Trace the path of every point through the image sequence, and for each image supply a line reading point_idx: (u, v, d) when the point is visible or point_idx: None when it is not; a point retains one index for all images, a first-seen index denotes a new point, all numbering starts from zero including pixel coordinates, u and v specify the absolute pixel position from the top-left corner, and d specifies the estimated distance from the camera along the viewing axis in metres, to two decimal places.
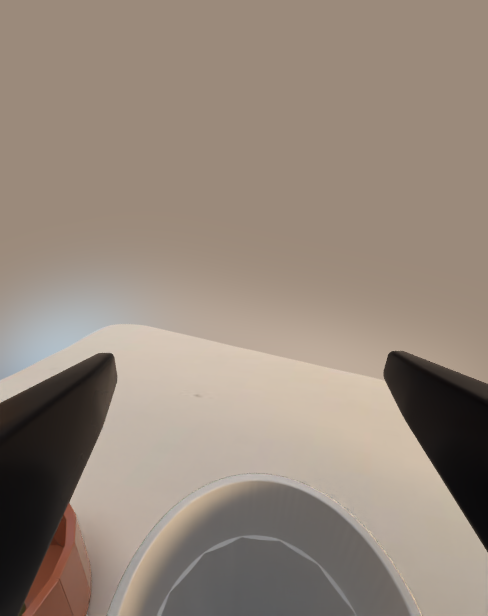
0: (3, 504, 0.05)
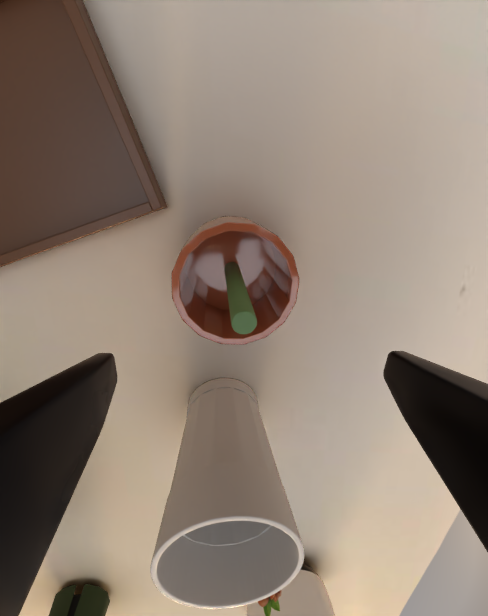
0: (3, 504, 0.05)
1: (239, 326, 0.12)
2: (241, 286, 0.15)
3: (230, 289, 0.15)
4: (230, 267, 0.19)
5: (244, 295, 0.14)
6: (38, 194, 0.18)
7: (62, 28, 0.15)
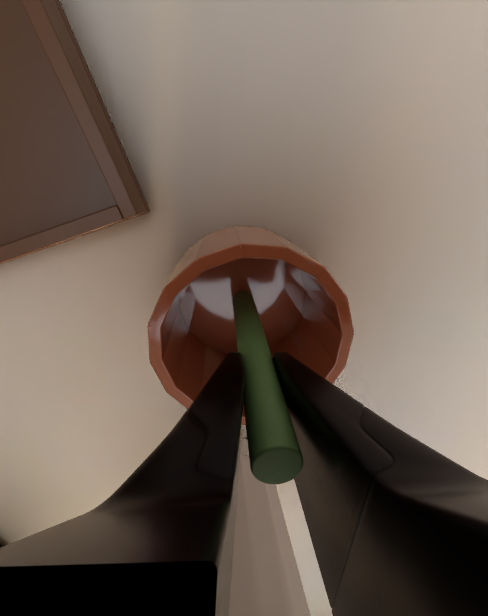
0: (235, 492, 0.05)
1: (267, 472, 0.06)
2: (263, 353, 0.09)
3: (244, 358, 0.09)
4: (241, 302, 0.13)
5: (271, 382, 0.07)
6: None
7: None
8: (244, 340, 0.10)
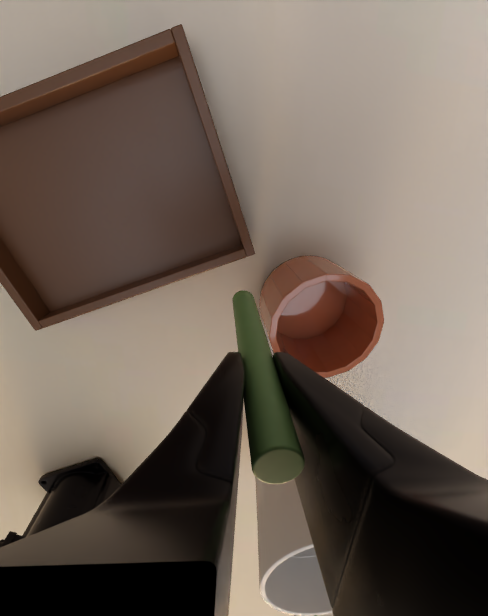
0: (234, 492, 0.05)
1: (268, 472, 0.06)
2: (264, 353, 0.09)
3: (245, 358, 0.09)
4: (242, 302, 0.13)
5: (272, 382, 0.07)
6: (140, 240, 0.19)
7: (176, 97, 0.16)
8: (245, 340, 0.10)
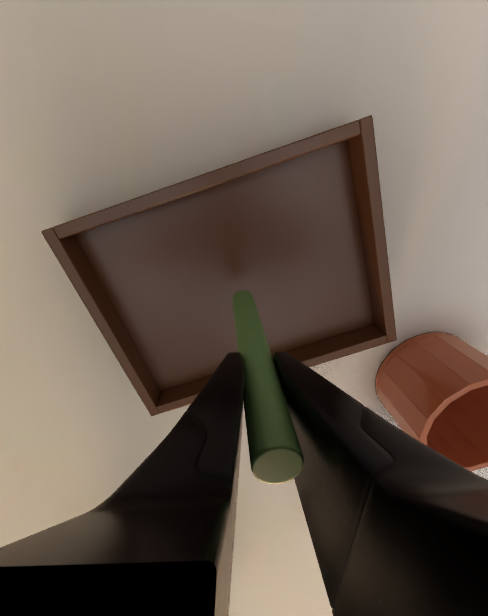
0: (234, 492, 0.05)
1: (267, 472, 0.06)
2: (263, 352, 0.09)
3: (244, 357, 0.09)
4: (241, 302, 0.13)
5: (272, 381, 0.07)
6: (268, 321, 0.18)
7: (335, 180, 0.15)
8: (244, 339, 0.10)
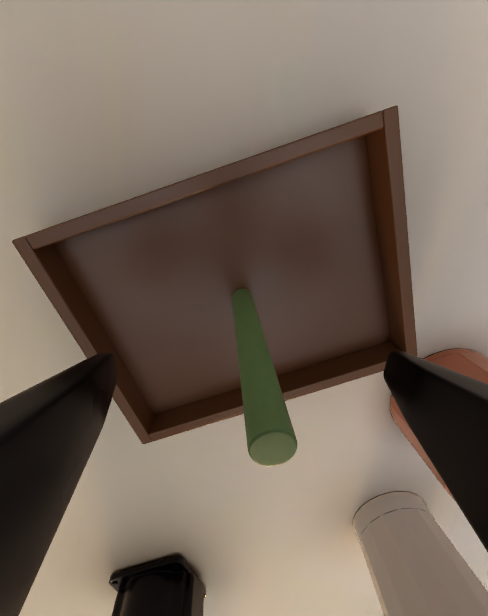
0: (3, 504, 0.05)
1: (263, 454, 0.06)
2: (260, 346, 0.09)
3: (243, 351, 0.09)
4: (240, 300, 0.13)
5: (268, 373, 0.08)
6: (273, 338, 0.16)
7: (351, 182, 0.13)
8: (243, 335, 0.10)
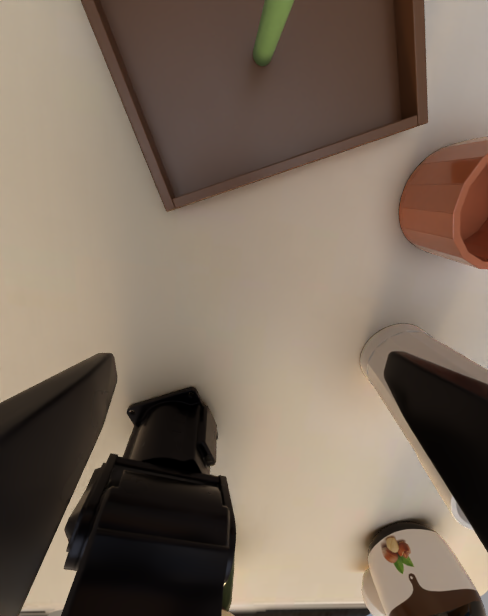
0: (3, 503, 0.05)
1: None
2: None
3: None
4: None
5: None
6: (291, 108, 0.17)
7: None
8: None
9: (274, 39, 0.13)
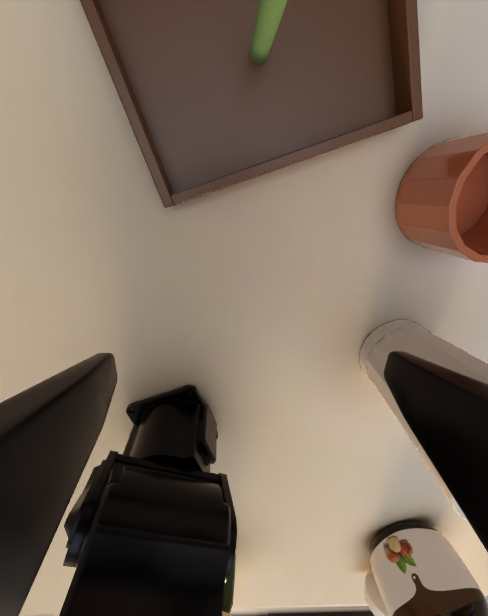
0: (3, 504, 0.05)
1: None
2: None
3: None
4: None
5: None
6: (287, 105, 0.17)
7: None
8: None
9: (270, 35, 0.13)
